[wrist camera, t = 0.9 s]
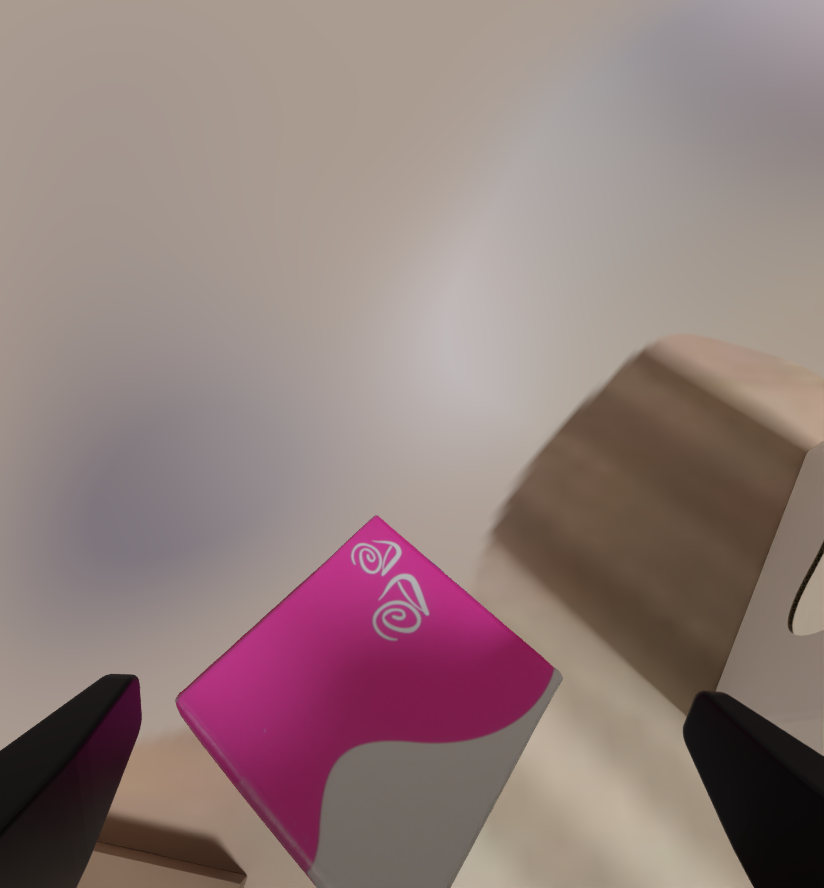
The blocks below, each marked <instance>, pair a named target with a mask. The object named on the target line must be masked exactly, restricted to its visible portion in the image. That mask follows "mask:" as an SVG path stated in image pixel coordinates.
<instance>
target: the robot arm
mask: <svg viewBox="0 0 824 888" xmlns="http://www.w3.org/2000/svg"><path fill="white" fill-rule="evenodd" d="M141 720H142V713H141V699H140V685H139V679H138V677H136V676H135V675H129V674H109V675H106V676H104V677H102V678H100V679H99V680H98V681H96V682H95V683H94V684H92V685H91V686H89V687H88V688H86V689H85V690H84V691H83V692H81V693H80V694H78V695H77V696H75V697H74V698H73V699H71V700H70V701H69V702H67V703H66V704H64V705H63V706H62V707H60V708H59V709H57V710H56V711H55V712H53V713H52V714H50V715H49V716H48V717H47V718H45V719H44V720H42V721H41V722H40V723H38V724H37V725H35V726H34V727H33V728H31V729H30V730H28V731H27V732H26V733H24V734H23V735H21V736H20V737H19V738H17V739H16V740H15V741H13V742H12V743H11V744H9V745H8V746H6V747H5V748H4V749H2V750H1V751H0V888H77V886H78V884H79V882H80V880H81V877H82V875H83V873H84V871H85V869H86V867H87V864H88V862H89V860H90V858H91V855H92V853H93V850H94V848H95V845H96V843H97V840H98V838H99V835H100V833H101V830H102V827H103V825H104V822H105V820H106V817H107V814H108V812H109V809H110V807H111V804H112V802H113V799H114V796H115V794H116V791H117V789H118V786H119V783H120V781H121V778H122V776H123V773H124V770H125V768H126V765H127V763H128V760H129V757H130V755H131V752H132V750H133V747H134V745H135V742H136V739H137V737H138V734H139V730H140V726H141ZM683 737H684V741H685V744H686V746H687V748H688V750H689V753H690V755H691V757H692V759H693V762H694V764H695V766H696V768H697V770H698V773H699V775H700V777H701V779H702V781H703V784H704V786H705V788H706V790H707V793H708V795H709V797H710V799H711V801H712V804H713V806H714V808H715V810H716V813H717V815H718V817H719V819H720V821H721V824H722V826H723V828H724V830H725V832H726V835H727V837H728V839H729V841H730V843H731V845H732V847H733V849H734V851H735V853H736V855H737V857H738V859H739V861H740V863H741V865H742V867H743V869H744V870H745V872H746V874H747V876H748V878H749V880H750V882H751V883H752V885H753V887H754V888H824V756H823V755H821V754H820V753H818V752H817V751H815V750H813V749H812V748H810V747H809V746H807V745H806V744H804V743H803V742H801V741H800V740H798V739H796V738H795V737H793V736H792V735H790V734H789V733H787V732H786V731H784V730H783V729H781V728H779V727H778V726H776V725H775V724H773V723H772V722H770V721H769V720H767V719H765V718H764V717H762V716H761V715H759V714H758V713H756V712H755V711H753V710H752V709H750V708H748V707H747V706H745V705H744V704H742V703H741V702H739V701H738V700H736V699H735V698H733V697H731V696H730V695H728V694H726V693H724V692H716V691H701V692H699V693H698V694H697V695H696V696H695V698H694V700H693V703H692V705H691V708H690V710H689V713H688V715H687V718H686V720H685V723H684V726H683Z"/></svg>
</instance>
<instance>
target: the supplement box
mask: <svg viewBox="0 0 824 888" xmlns="http://www.w3.org/2000/svg"><path fill="white" fill-rule="evenodd" d="M562 679H563V677H562V675H561V673H560V672H559V671H558V670H557V669H556V668H555V667H553V666H552V665H551V664H549V663H548V662H547V661H546V660H545V659H544V658H543V657H542V656H541V655H540V654H539V653H537V652H536V651H535V650H534V649H533V648H531V647H530V646H529V645H528V644H527V643H526V642H524V641H523V640H522V639H521V638H520V637H519V636H517V635H516V634H515V633H514V632H513V631H511V630H510V629H509V628H508V627H507V626H506V625H504V624H503V623H502V622H501V621H500V620H499V619H497V618H496V617H495V616H494V615H493V614H492V613H490V612H489V611H488V610H487V609H486V608H485V607H483V606H482V605H481V604H480V603H479V602H478V601H476V600H475V599H474V598H473V597H472V596H471V595H469V594H468V593H467V592H466V591H465V590H464V589H462V588H461V587H460V586H459V585H458V584H457V583H455V582H454V581H453V580H452V579H451V578H449V577H448V576H447V575H446V574H445V573H444V572H443V571H442V570H441V569H440V568H438V567H437V566H436V565H435V564H433V563H432V562H431V561H430V560H429V559H427V558H426V557H425V556H424V555H423V554H421V553H420V552H419V551H418V550H417V549H416V548H415V547H414V546H413V545H411V544H410V543H409V542H408V541H407V540H405V539H404V538H403V537H402V536H401V535H399V534H398V533H397V532H396V531H395V530H394V529H392V528H391V527H390V526H389V525H388V524H387V523H386V522H384V521H383V520H382V519H381V518H380V517H379V516H377V515H376V516H374V517H373V518H372V519H371V520H369V521H368V522H367V523H366V524H365V525H364V526H363V527H362V528H361V529H359V530H358V531H357V532H356V533H355V534H354V535H353V536H352V537H351V538H350V539H349V540H348V541H347V542H346V543H345V544H344V545H343V546H341V548H339V549H338V550H337V551H336V552H335V553H334V554H333V555H332V556H331V557H330V558H329V559H328V560H327V561H326V562H325V563H323V564H322V565H321V566H320V567H319V568H318V569H317V570H316V571H315V572H313V573H312V574H311V575H310V576H309V577H308V578H307V579H306V580H305V581H303V583H301V584H300V585H299V586H298V587H297V588H296V589H294V590H293V591H292V592H291V593H290V594H289V595H288V596H287V597H286V598H285V599H284V600H282V602H280V603H279V604H278V605H277V606H276V607H275V608H274V609H272V610H271V611H270V612H269V613H268V614H267V615H266V616H265V617H263V618H262V619H261V620H260V621H259V622H258V623H257V624H256V625H255V626H254V627H253V628H252V629H250V630H249V631H248V632H247V633H246V634H245V635H243V637H241V638H240V639H239V640H238V641H237V642H236V643H235V644H234V645H233V646H232V647H231V648H230V649H229V650H227V651H226V652H225V653H224V654H223V655H222V656H221V657H220V658H219V659H217V660H216V661H215V662H214V663H213V664H212V665H210V666H209V667H208V668H207V669H206V670H205V671H204V672H203V673H202V674H201V675H199V677H197V678H196V679H195V680H194V681H193V682H192V683H191V684H190V685H189V686H188V687H187V688H186V689H184V690H183V691H182V692H180V693H179V695H178V696H177V698H176V700H175V701H176V705H177V708H178V710H179V713H180V715H181V716H182V718H183V719H184V721H185V722H186V723H187V725H188V726H189V727H190V729H191V730H192V731H193V733H194V734H195V736H196V737H197V738H198V740H199V741H200V742H201V744H202V745H203V746H204V747H205V749H206V750H207V751H208V753H209V754H210V755H211V756H212V758H213V759H214V760H215V761H216V763H217V764H218V765H219V767H220V768H221V769H222V770H223V772H224V773H225V774H226V776H227V777H228V778H229V779H230V781H231V782H232V783H233V784H234V786H235V787H236V788H237V790H238V791H239V792H240V793H241V795H242V796H243V797H244V799H245V800H246V801H247V802H248V803H249V805H250V806H251V807H252V808H253V810H254V811H255V812H256V813H257V815H258V816H259V817H260V818H261V820H262V821H263V822H264V823H265V824H266V826H267V827H268V828H269V829H270V831H271V832H272V833H273V834H274V836H275V837H276V838H277V839H278V841H279V842H280V843H281V844H282V845H283V847H284V848H285V849H286V850H287V852H288V853H289V854H290V855H291V856H292V858H293V859H294V860H295V861H296V863H297V864H298V865H299V866H300V867H301V869H302V870H303V871H304V872H305V873H306V875H307V876H308V877H309V878H310V879H311V881H312V882H313V883H314V885H315V886H316V887H317V888H450V887H451V886H452V884H453V882H454V880H455V878H456V876H457V874H458V872H459V871H460V869H461V867H462V865H463V863H464V861H465V859H466V857H467V856H468V854H469V852H470V850H471V848H472V846H473V844H474V843H475V841H476V839H477V837H478V835H479V833H480V831H481V829H482V827H483V825H484V823H485V822H486V820H487V818H488V816H489V814H490V812H491V810H492V809H493V807H494V805H495V803H496V801H497V799H498V797H499V796H500V794H501V792H502V790H503V788H504V786H505V784H506V783H507V781H508V779H509V777H510V775H511V773H512V771H513V769H514V767H515V765H516V764H517V762H518V760H519V758H520V756H521V754H522V752H523V750H524V748H525V746H526V745H527V743H528V741H529V739H530V737H531V735H532V733H533V731H534V729H535V727H536V726H537V724H538V722H539V720H540V719H541V717H542V715H543V713H544V711H545V710H546V708H547V706H548V704H549V703H550V701H551V699H552V697H553V695H554V693H555V691H556V690H557V688H558V686H559V685H560V683H561V681H562Z"/></svg>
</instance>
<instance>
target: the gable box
mask: <svg viewBox="0 0 824 888" xmlns="http://www.w3.org/2000/svg"><path fill="white" fill-rule="evenodd" d="M716 692H724V693H726V694H728V695H730V696H731V697H733V698H735V699H736V700H738V701H739V702H741V703H742V704H744V705H745V706H747V707H748V708H750V709H752V710H753V711H755V712H756V713H758V714H759V715H761V716H762V717H764V718H765V719H767V720H769V721H770V722H772V723H773V724H775V725H776V726H778V727H779V728H781V729H783V730H784V731H786V732H787V733H789V734H790V735H792V736H793V737H795V738H796V739H798V740H800V741H801V742H803V743H804V744H806V745H807V746H809V747H810V748H812V749H813V750H815V751H817V752H818V753H820V754H821V755H823V756H824V441H823V442H821V443H820V444H818V445H817V446H815V447H814V448H812V449H811V450H809V451H808V452H807V454H806V456H805V459H804V462H803V464H802V467H801V470H800V472H799V475H798V477H797V480H796V483H795V485H794V488H793V490H792V493H791V496H790V498H789V501H788V503H787V506H786V509H785V511H784V514H783V516H782V519H781V522H780V524H779V527H778V529H777V532H776V535H775V537H774V540H773V543H772V545H771V548H770V550H769V553H768V556H767V558H766V561H765V563H764V566H763V569H762V571H761V574H760V576H759V579H758V582H757V584H756V587H755V589H754V592H753V595H752V597H751V600H750V602H749V605H748V608H747V610H746V613H745V616H744V618H743V621H742V623H741V626H740V629H739V631H738V634H737V636H736V639H735V642H734V644H733V647H732V649H731V652H730V655H729V657H728V660H727V662H726V665H725V668H724V670H723V673H722V675H721V678H720V681H719V683H718V686H717V689H716Z"/></svg>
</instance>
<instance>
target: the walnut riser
mask: <svg viewBox="0 0 824 888" xmlns="http://www.w3.org/2000/svg"><path fill="white" fill-rule="evenodd" d="M246 878H247V875H243V874H239V873H235V872H230V871H226V870H221V869H217V868H212V867H208V866H203V865H199V864H195V863H190V862H186V861H181V860H177V859H172V858H168V857H164V856H159V855H155V854H150V853H146V852H141V851H137V850H133V849H128V848H124V847H119V846H115V845H110V844H106V843H101V842H97V843H96V845H95V848H94V850H93V853H92V855H91V858H90V860H89V862H88V864H87V867H86V869H85V871H84V873H83V875H82V877H81V880H80V882H79V884H78V886H77V888H244V884H245V881H246Z"/></svg>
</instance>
